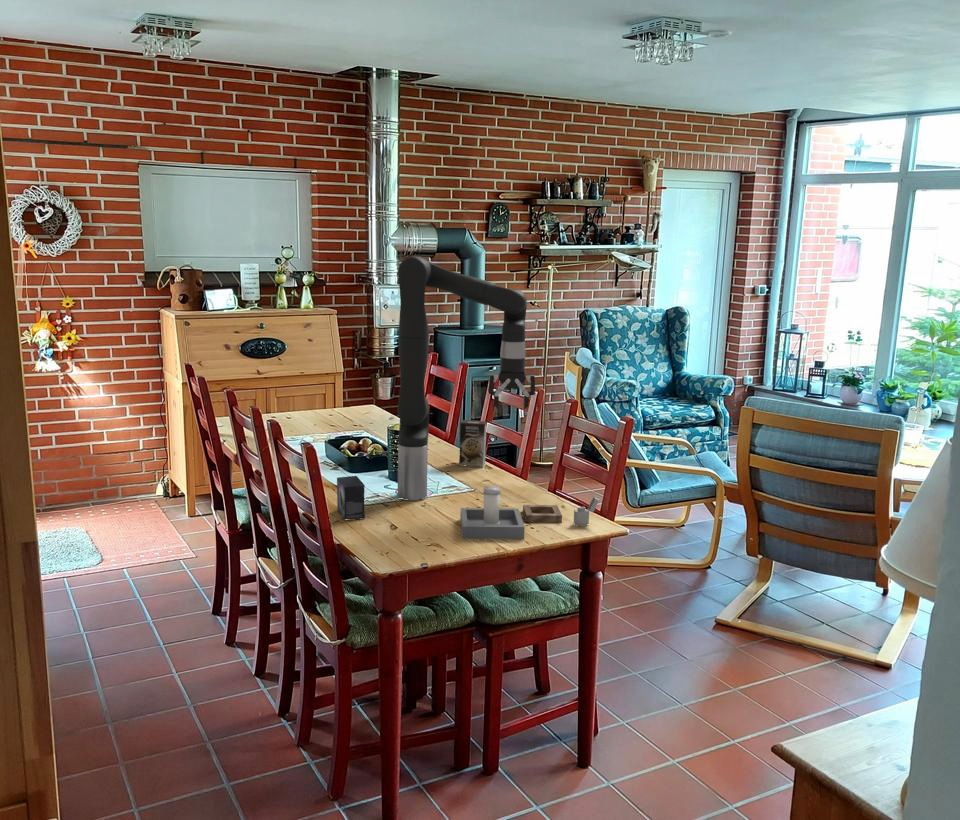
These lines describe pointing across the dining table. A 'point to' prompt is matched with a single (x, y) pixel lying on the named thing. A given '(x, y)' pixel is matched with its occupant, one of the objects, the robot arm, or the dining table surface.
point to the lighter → (584, 513)
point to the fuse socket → (532, 517)
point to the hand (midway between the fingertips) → (511, 408)
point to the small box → (350, 497)
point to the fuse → (491, 505)
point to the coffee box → (472, 443)
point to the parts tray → (475, 529)
